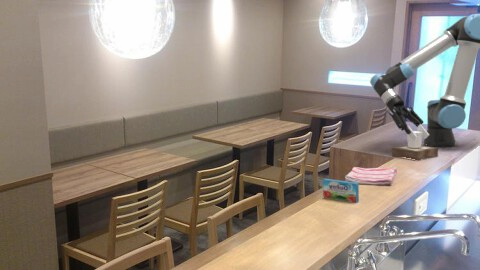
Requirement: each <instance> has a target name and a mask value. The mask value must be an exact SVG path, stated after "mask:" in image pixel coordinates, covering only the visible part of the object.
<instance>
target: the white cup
mask: <svg viewBox="0 0 480 270" xmlns="http://www.w3.org/2000/svg"><path fill="white" fill-rule="evenodd" d="M413 132H414V133H415V134H416V136H417V138H416V139H415V140H414V141H412V139H411V138H410V137H409V135H408V134H407V133H406V139H407V145H408V147H409V148H420V147H421V145H422V144H423V143H422V142H423V141H422V140H423V136H422V134H423V132H421V131H418V130H413Z"/></svg>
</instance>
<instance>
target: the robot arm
mask: <svg viewBox="0 0 480 270" xmlns="http://www.w3.org/2000/svg"><path fill="white" fill-rule="evenodd" d="M457 46H458V48H457V50H456V55H455V59H454V61H453V66H452V68H451V71H450V76H449V78H448V82H447V86H446V90H445V93H444V95H442V96H440V98H439V99H433V100H428V102H427V105H426V106H427V107H426V108H427V109H426V111H427V112H426V113H427V115H426V116H427V118H426V119H427V120H426V121H427V124H426V125H427V129H426V127H424V126H423V124H424V120H423V119H422V118H421V117H420V116H419V115H418V114H417V113H416V112H415V110H414V108H413V107H411V106H410V107H407V106H406V105H405V101H404V100H403V98H402V97H401V96H400V94H399V93H398V91H397V90H396V89H395V88H396V87H397V86H399V85H401V84H402V83H404V82H405V81H407V80H409V79H410V78H412V77H413V76H414V74H415V72H414V71H416V70H417V69H419V68H420V67H422V66H423V65H425V64H426V63H428V62H430V61H431V60H433V59H435V58H436V57H438V56H439V55H441V54H442V53H444V52H446V51H448V49H450V48H452V47H454V48H456V47H457ZM479 49H480V13H474V14H473V13H472V14H470V15H468V16H464V17H461V18H460V19H459V20H457V21H456V22H454V23H452V25H451V26H449V27H448V28H446V29H445V30H444V31H443V34H441V35H439V36H438V37H436V38H434V39H433V40H431V41H430V42H428V43H427V44H425V45H424V46H423V47H421V48H419V49H418V50H416V51H415V52H413V53H411V54H410V55H409V56H407V57H405V58H404V59H402V60H401V61H399V62H398V63H396V64H395V65H392V66H390V67H388V68H387V69H386V70H385V74H383V73H382V72H378V73H376V74H374V75H373V76H372V77H371V78H370V81H369V83H370V85H371V87H372V88H373V90H374V91H375V92H376V94H377V95H378V96H379V97H380V99H381V100H382V101H383V103H384V104H385V105H386V107H387V108H388V110H389V112H388V114H389V115H390V116H391V118H392V120H393V121H394V123H395V125H396V127H397V129H399V130H400V131H404V132H405V133H406V135H407V134H408V135H409V137H410V138H411V139H412V141H414V140H415V139H416V138H417V136H416V134H415V133H414V132H413V131H414V130H413V129H412V128H411V126H410V125H408V124H407V122H406V119H407V120H409V121H410V123H412V124H413V125H415V127H416V130H417V131H421V132H423V134H422V138H423V145H424V144H427V145H432V146H431V147H434V146H438V147H437V148H443V147H444V148H445V147H447V148H448V147H453V146H454V147H455V146H456V145H457V141H456V138H455V136H454V135H455V134H454V132H453V129H456V128H459V127H460V126H461V125H463V123H464V122H465V121H466V120H465V119H466V111H465V108H466V105H467V102H466V100H465V96H466V93H467V91H468V90H467V89H468V87H469V83H470V79H471V76H472V73H473V71H474V66H475V62H476V59H477V55H478V53H479V52H478V51H479ZM427 145H426V146H427Z"/></svg>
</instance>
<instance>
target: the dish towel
mask: <svg viewBox="0 0 480 270" xmlns="http://www.w3.org/2000/svg"><path fill="white" fill-rule="evenodd" d="M397 172H398V169H397V167H374V168H373V167H372V168H371V167H369V168H365V167H360V166H359V167H357V166H354V167H352V169H351V171H350V172H348V174H346V175H345V177H344V179H345V180H344V181H347V182H355V183H358V185H368V186H369V185H370V186H371V185H372V186H374V185H375V186H392V184H393V183H394V179H395V177H396V176H397Z"/></svg>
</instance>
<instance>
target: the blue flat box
mask: <svg viewBox="0 0 480 270" xmlns="http://www.w3.org/2000/svg"><path fill="white" fill-rule="evenodd" d="M359 185H360V184H358V183H355V182H347V181H345V180H338V179H330V178H325V179H323V180H322V196H323V197H322V198H325V199H330V200H335V201H336V200H337V201H341V202H342V201H343V202H349V203H355V204H356V203H358V202H359V198H360V197H359V192H360V191H359V189H360V188H359Z"/></svg>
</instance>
